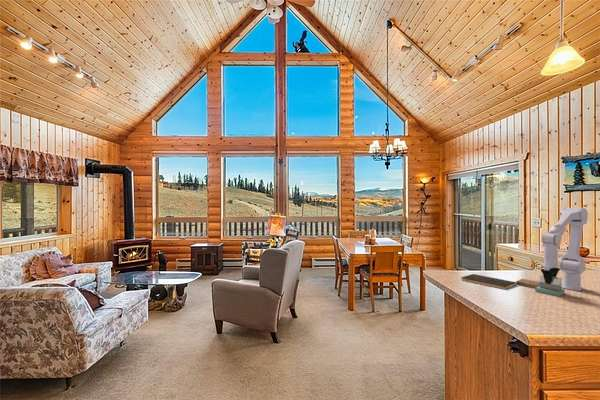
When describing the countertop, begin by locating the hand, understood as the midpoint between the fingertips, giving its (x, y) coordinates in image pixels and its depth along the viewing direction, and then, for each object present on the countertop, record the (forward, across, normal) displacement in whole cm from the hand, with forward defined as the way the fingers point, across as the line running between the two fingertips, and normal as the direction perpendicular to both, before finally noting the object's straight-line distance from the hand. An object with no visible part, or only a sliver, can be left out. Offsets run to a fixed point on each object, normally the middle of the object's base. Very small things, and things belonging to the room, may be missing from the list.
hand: (550, 282), depth 165 cm
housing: (+3, 0, 0) cm, 3 cm away
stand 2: (+5, 0, 0) cm, 5 cm away
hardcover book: (+6, +6, -27) cm, 29 cm away
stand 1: (+5, -8, -11) cm, 14 cm away
